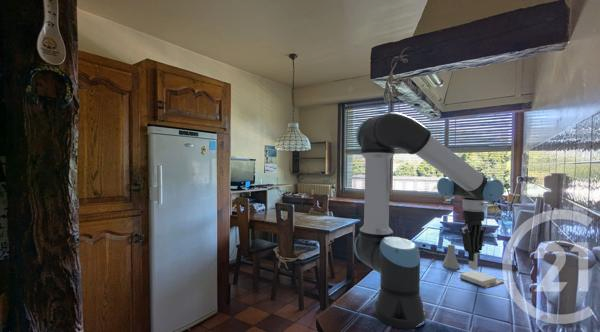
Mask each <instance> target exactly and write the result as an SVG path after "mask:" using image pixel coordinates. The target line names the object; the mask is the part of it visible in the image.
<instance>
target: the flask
mask: <svg viewBox="0 0 600 332" xmlns="http://www.w3.org/2000/svg"><path fill="white" fill-rule="evenodd" d="M455 248H456V245H454V244H447V253H446V255H445V257H444V260H443V263H442V267H444V268H447V269H450V270H460V269H461V266H460V264H459V262H458V259H457V256H456V255H457V254H456V251H455Z"/></svg>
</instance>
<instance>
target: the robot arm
mask: <svg viewBox="0 0 600 332" xmlns="http://www.w3.org/2000/svg"><path fill="white" fill-rule="evenodd" d="M356 129H357V130H356V134H355V138H356V143H357V145H358V146H359V147H360V149H361V151H360V155H361V156H362V157H363V158H364V159H365V160H364V161H365V163H364V203H363V205H364V206H363V207H364V209H363V210H364V211H363V212H364V213H363V215H364V217H363V225H362V226H361V227H360V228H359V233H358V235H357V237H355V238H354V239H355V240H354V242H353V249H354V254H355V255H356V257H357V258H358V260H360V261H361V263H363V264H364V265H365V266H367V267H369V268H371V269H373V270H374V271H376V272H377V273H378V274H380V276H379V278H380V283H379V285H380V286H379V287H380V289H379V291H378V295H377V299H376V301H375V304H374V315H375V317H376V318H377V319H378V320H379V321H380V322H381V323H383V324H385V325H387V326H389V327H393V328H396V329H403V330H404V329H405V330H414V329H417V328H416V326H417V325H418V324H420V323H422V322H423V321H425V320H427V318H426V317H427V315H426V310H425V308H424V305H423V301H422V297H421V293H420V290H421V289H420V282H421V278H420V277H421V257H420V256H421V255H420V254H421V253H420V249H419V246H418V245H417V244H416V243H415V242H413V241H412V240H410V239H408V238H402V237H399V236H394V231H393V229H392V228H391V227H390V226H389V224H390V177H391V176H390V172H391V171H390V170H391V169H390V165H391V164H390V163H391V162H390V161H391V159H392V158H393V157H394V156H395V150H396V149H400V150H403V151H405V152H406V153H407V154H409V155H416V156H417V157H419V158H420V159H422V160H423V161H424V162H426V163H427V164H428V165H430V166H432V167H433V168H434V169H436V170H437V171H438V172H439V173H441V174H442V175H444V176H445V177H440V178H439V179H438V181H437V183H436V186H437V187H436V189H437V192H438V194H440V195H441V196H442V197H450V198H451V197H456V198H457V197H458V198H462V209H463V210H462V220H464V221H465V222H464V226H463V227H460V228H459V231H460V233H461V239H462V243H463V244H462V245H463V249H464V251H465V252H467V253H468V255H467V257H468V269H471V270H473V271H474V270H475V271H477V270H478V263H479V262H478V261H479V260H478V259H479V258H478V257H479V254H481V253H482V252H481V251H483V250H482V249H483V244H484V243H483V242H484V237H485V232H486V231H487V227H486V226H484V225H483V222H484V221H485V211H484V210H485V201H486V202H488V201H490V202H491V201H493V202H496V201H499V200H500V199H501V198H502V197H503V194H504V192H505V186H504V184H503V182H502V181H501V180H499V179H497V178H493V177H491V178H488V177H486V175H485V174H484V173H483V172H481V171H479V170H477V169H476V168H474V167H473V166H472V165H471V164H469V163H468V162H466V161H465V160H464V159H463V158H461V157H460V156H459V155H457V154H456V153H455V152H453V151H452V150H451V149H449V148H448V147H446V146H445V145H444V144H443V143H442V142H440V141H439V140H437V139H436V138H435V137H434V136H432V131H431V130H430V129H429V128H428V127H426V126H424V125H423V124H422V123H421V122H419V121H418V120H417V119H414V118H413V117H410V116H408V115H406V114H404V113H400V112H394V111H393V112H392V111H391V112H386V113H384V114H381V115H377V116H373V117H369V118H368V119H366V120H364V121H362V122H361V123H360V125H359V126H358V127H357V128H356Z"/></svg>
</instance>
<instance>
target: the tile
mask: <svg viewBox="0 0 600 332" xmlns="http://www.w3.org/2000/svg"><path fill="white" fill-rule="evenodd" d="M460 276H461V278H463V279H462V280H464V279H466V280H465V281H467V280H468V281H467V282H469V281H471V282H470V283H472V282H474V283H473V284H475V283H476V284H475V285H477V284H479V285H478V286H480V285H481V287H482V286H483V285H487V284H490V283H494V282H496V279H497V277H495V276H492V275H489V274H486V273H483V272H481V271H477V270H474V269H473V270H471V271H466V272H463V273H460ZM461 278H460V279H461Z"/></svg>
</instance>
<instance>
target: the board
mask: <svg viewBox="0 0 600 332" xmlns="http://www.w3.org/2000/svg"><path fill="white" fill-rule="evenodd" d="M459 278H460V279H461V280H463V281H464V280H465V281H467V282H470V283H472V284H475V285H478V286H481V285H479V284H476V283H474V282H471V281H468V280H466V279H463V278H461V275H460V276H459ZM501 284H504V281H502V280H500V279H497V278H496V282H494V283H490V284H487V285H483V286H481V287H483V288H485V289H488V288H491V287H494V286H499V285H501Z"/></svg>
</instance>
